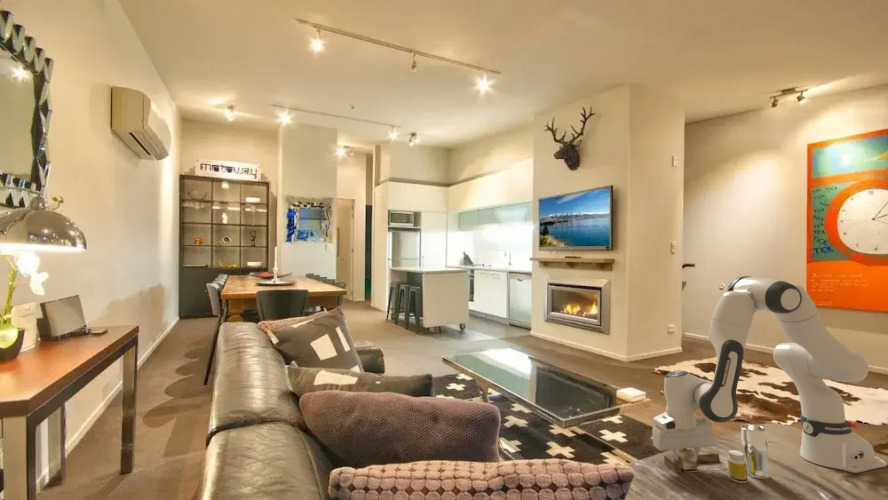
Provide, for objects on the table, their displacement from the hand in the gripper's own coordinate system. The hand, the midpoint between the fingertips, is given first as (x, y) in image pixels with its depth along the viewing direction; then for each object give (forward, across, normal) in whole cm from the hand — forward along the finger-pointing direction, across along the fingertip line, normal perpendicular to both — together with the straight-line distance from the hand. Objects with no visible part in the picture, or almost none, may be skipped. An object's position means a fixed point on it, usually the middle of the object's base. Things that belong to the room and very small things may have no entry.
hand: (685, 460), depth 138 cm
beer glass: (+3, -19, +8) cm, 21 cm away
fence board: (+2, -4, -1) cm, 5 cm away
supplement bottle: (+3, -11, +10) cm, 15 cm away
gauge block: (+2, 0, 0) cm, 2 cm away
